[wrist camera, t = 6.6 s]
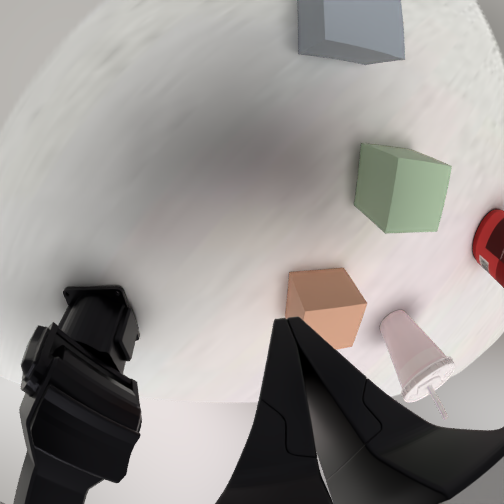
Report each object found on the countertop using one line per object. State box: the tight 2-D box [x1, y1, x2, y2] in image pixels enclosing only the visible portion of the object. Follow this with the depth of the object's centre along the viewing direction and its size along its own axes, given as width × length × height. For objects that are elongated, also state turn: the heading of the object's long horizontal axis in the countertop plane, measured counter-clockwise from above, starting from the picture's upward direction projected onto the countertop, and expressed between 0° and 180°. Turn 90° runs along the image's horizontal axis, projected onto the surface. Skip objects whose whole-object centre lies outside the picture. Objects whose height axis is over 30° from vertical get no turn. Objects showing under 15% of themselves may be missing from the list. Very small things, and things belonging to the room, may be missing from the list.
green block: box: [354, 143, 452, 233], centre depth 17 cm, size 5×5×5 cm
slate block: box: [297, 0, 405, 65], centre depth 11 cm, size 5×5×5 cm
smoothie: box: [380, 310, 455, 420], centre depth 23 cm, size 6×6×14 cm
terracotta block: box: [285, 268, 367, 349], centre depth 22 cm, size 5×5×5 cm
